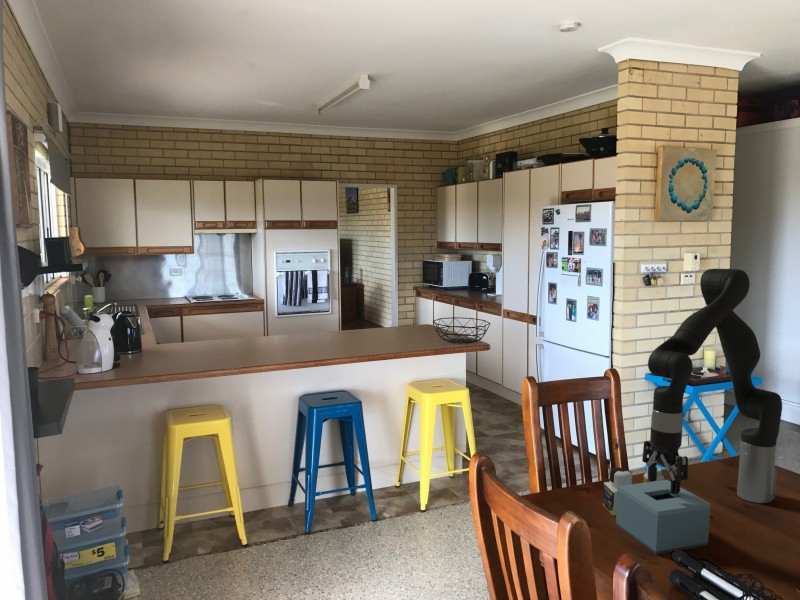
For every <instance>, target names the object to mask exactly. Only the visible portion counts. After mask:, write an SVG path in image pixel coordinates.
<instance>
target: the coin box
mask: <svg viewBox="0 0 800 600" xmlns="http://www.w3.org/2000/svg"><path fill="white" fill-rule="evenodd" d="M670 488H671V480H668V479H664V480H661V481H654V482H646V483H643V482H640V483H632V484H631V485H623V486H618V490H617V511H616V516H615V526H616V527H617V528H618V529H620V530H621V531H623V532H624V533H625V534H626V535H628V536H629V537H631V538H632V539H633V540H635V541H636V542H637V543H639V544H640V545H642V546H643V547H644V548H646V549H647V550H648V551H650V552H651V553H653V554H654V555H661V554H667V553H671V552H672V551H673V550H674V549H683V550H684V551H685V550H690V549H697V548H702V547H707V546H708V545H709V535H710V533H709V532H710V519H711V518H710V517H711V505H712V504H711V503H710V502H709V501H706V500H704V499H703V498H701V497H699V496H697V495H695V494H694V493H693V492H691V491H688V490H686V489H684V488H682V487H681V486H680V492H679V493H678V494H672V493H670ZM683 550H682V551H683ZM672 553H673V552H672Z"/></svg>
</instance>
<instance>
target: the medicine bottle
mask: <svg viewBox="0 0 800 600" xmlns="http://www.w3.org/2000/svg"><path fill="white" fill-rule="evenodd" d="M631 484H633V472H632V471H631V470H629V469H627V468H624V467H613V468H611V469H610V471H609V481H605V482H603V492H602V493H603V494H602V505H603V507H604V508H605V509H606V510H607V511H608V512H609V513H610V515H612V516H615V517H616V511H617V490H618V486H623V485H631Z"/></svg>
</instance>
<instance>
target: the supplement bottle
mask: <svg viewBox="0 0 800 600" xmlns="http://www.w3.org/2000/svg"><path fill="white" fill-rule="evenodd" d="M656 467H657V480H656V481H661V480H665V477H664V475H663V474H662V468H660V467H658V466H656ZM646 482H650V481H649V480H648V467H647V466H646V472H645V473H644V474H643V482H642V483H646ZM653 482H654V481H653Z"/></svg>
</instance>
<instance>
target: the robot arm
mask: <svg viewBox="0 0 800 600" xmlns="http://www.w3.org/2000/svg"><path fill="white" fill-rule="evenodd" d="M701 274H702V275H701V277H700V283H699V284H700V285H699V286H700V291H701V295H702V298H703V299H704V302H705V304H706V306H704V307H703V308H699V310H697V311H695V312H693V313H691V314H690V315H689V316H688V317H686V319H685V320H683V321H682V323H681V324H680V325H679V327H678V328H677V329H676V331H675V332H674V334H673V335H672V336H671V337H669V338H668V339H666V340H665V341H663V342H662V343H661V344H659V345H658V346H657V347H656V348H655V349H654V350H652V352H651V354H650V355H649V357H648V361H647V368H648V370H649V372H650V373H651V374H652V375H653V376H656V377H662V378H664V379H665V378H666V379H670V380H671V381H670V383H669V385H661V386H657V387H655V389H654V390H653V399H652V400H653V403H652V411H651V417H650V418H651V419H650V438H649V440H645V441H643V448H642V460H641V461H642V462H643V463H645V464H646V468H647V467H648V480H649V481H650V482H653V481H656V480H657V467H658V465H661V466H663V468H665V470H666V472H668V473H669V475H670V478H671V479H670V482H671V488H670V493H672V494H678V493H679V492H680V487H681V481H686V480H688V478H689V458H688V456H686V455H685V456H681V455H680V453H679V449H680V448H681V447H682V441H683V439H682V438H683V425H684V419H683V407H684V406H683V404H684V401H683V400H684V396H685V393H686V389H687V386H688V383H689V381H690V378H691V376H692V373H693V367H694V366H693V365H694V364H693V361H692V359H691V357H690V356H693V355H695V354H697V352H698V351H699V349H700V348H701V346H702V345H703V344H704V343H705V341H706V340H707V338H708V337H709V336H710V334H711V333H712V331H713V330H714V329H716V331H717V334H718V338H719V342H720V346H721V349H722V352H723V355H724V358H725V361H726V363H727V367H728V370H729V374H730V379H731V382H732V387H733V394H734V398H735V404H736V407H737V410H738V412H739V413H740V414H741V415H742V416H744V417H745V418H748V419H753V420H755V421H756V420H757V421H759V423H758V424H759V425H758V427H753V428H750V427H749V428H746V429H743V430H742V431H741V433H740V446H739V448H740V450H739V463H738V474H737V475H738V476H737V477H738V478H737V490H736V494H737V496H738V497H739V498H740V499H742V500H744V501H747V502H752V503H757V504H768V503H772V501H773V500H775V498H776V497H775V496H776V484H777V468H776V467H775V463H776V452H777V451H776V449H777V440H778V436H779V433H780V427H781V418H782V412H783V400H782V397H781V396H780V394H779V393H778V392H774V391H771V390H766V389H761V388H757V387H755V385H754V384H753V383H754V382H753V380H752V374H753V372H754V370H755V368H756V366H757V365H758V363H759V361H760V360H761V349H760V346H759V342H758V339H757V336H756V334H755V333H754V331H753V329H752V328H751V326H749V324H747V323H746V322H745V321H744V320H743V319H742V318H741V317H740V316H739V315H738V314H737V313H736V312H735V311H734V310H735V309H736V307H738V306H739V305H740V304H741V303H742V302H743V301H744V300H745V298H746V297H747V295H748V293H749V291H750V286H751V284H750V278H749V275H748V274H747V272H746V271H744V270H742V269H739V268H709V269H706V270H704V271H703V272H702V273H701ZM673 466H674V467H673Z"/></svg>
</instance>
